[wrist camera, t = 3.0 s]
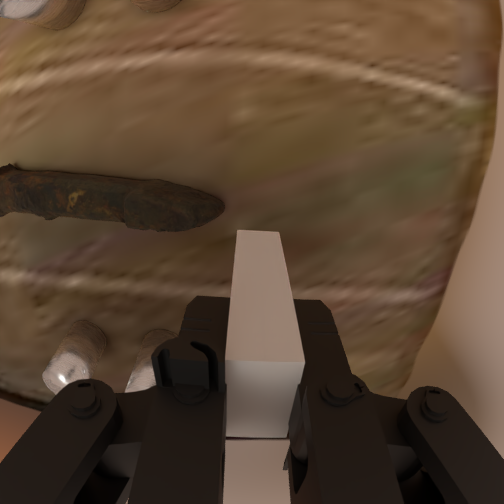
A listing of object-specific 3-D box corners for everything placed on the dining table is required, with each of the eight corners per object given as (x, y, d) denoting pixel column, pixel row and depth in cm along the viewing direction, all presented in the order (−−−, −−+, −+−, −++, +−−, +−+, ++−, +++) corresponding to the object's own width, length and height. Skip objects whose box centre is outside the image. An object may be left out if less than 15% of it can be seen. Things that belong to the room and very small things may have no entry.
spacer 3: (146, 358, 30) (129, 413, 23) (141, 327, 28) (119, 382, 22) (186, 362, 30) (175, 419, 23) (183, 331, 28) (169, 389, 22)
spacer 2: (76, 348, 29) (51, 396, 23) (67, 318, 28) (36, 365, 21) (110, 353, 29) (87, 405, 23) (102, 322, 28) (74, 374, 21)
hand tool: (14, 204, 23) (-17, 223, 19) (13, 160, 21) (-21, 174, 17) (218, 236, 25) (213, 265, 20) (227, 185, 23) (222, 204, 19)
